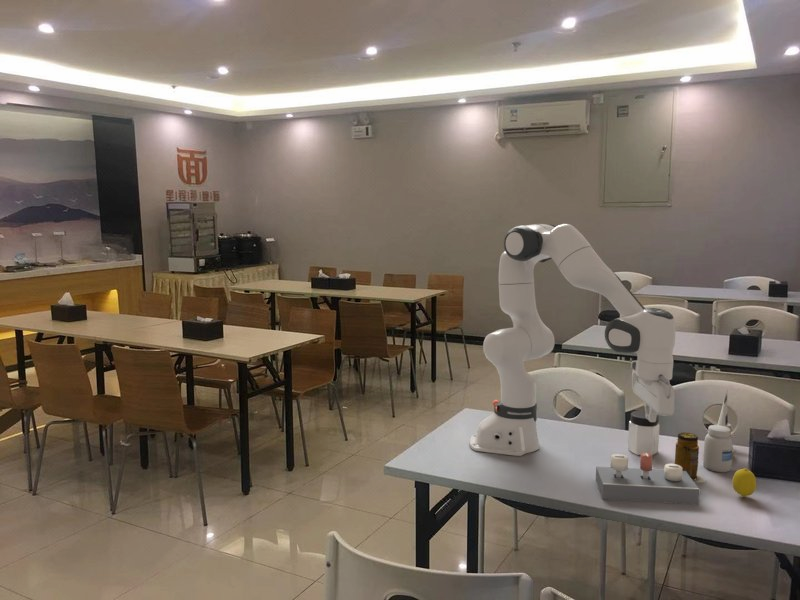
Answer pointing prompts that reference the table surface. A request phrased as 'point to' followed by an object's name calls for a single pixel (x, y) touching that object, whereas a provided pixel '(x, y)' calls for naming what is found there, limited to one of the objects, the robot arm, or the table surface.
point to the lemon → (744, 482)
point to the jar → (643, 434)
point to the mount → (646, 486)
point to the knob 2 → (673, 472)
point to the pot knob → (646, 464)
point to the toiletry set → (719, 444)
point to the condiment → (688, 455)
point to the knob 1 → (619, 463)
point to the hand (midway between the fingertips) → (650, 420)
